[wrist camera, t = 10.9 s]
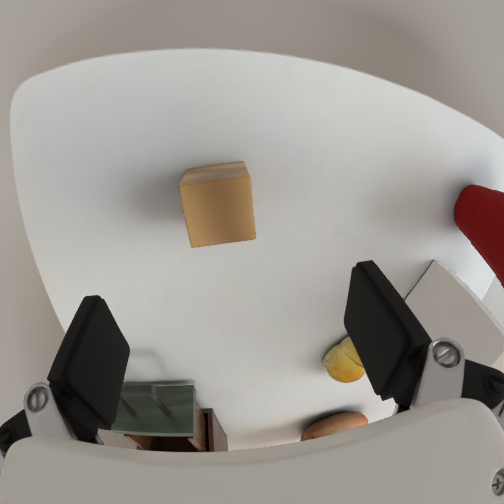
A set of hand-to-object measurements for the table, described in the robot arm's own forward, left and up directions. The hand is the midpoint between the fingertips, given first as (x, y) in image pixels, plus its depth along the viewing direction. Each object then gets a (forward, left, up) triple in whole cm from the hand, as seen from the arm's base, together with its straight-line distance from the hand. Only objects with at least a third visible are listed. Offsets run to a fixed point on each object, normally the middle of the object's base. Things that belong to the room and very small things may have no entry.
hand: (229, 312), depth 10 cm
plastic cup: (+28, +4, -13) cm, 31 cm away
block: (0, 0, -13) cm, 13 cm away
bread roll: (+20, -19, -13) cm, 30 cm away
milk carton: (+28, -8, -13) cm, 32 cm away
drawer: (-6, -30, -12) cm, 33 cm away
